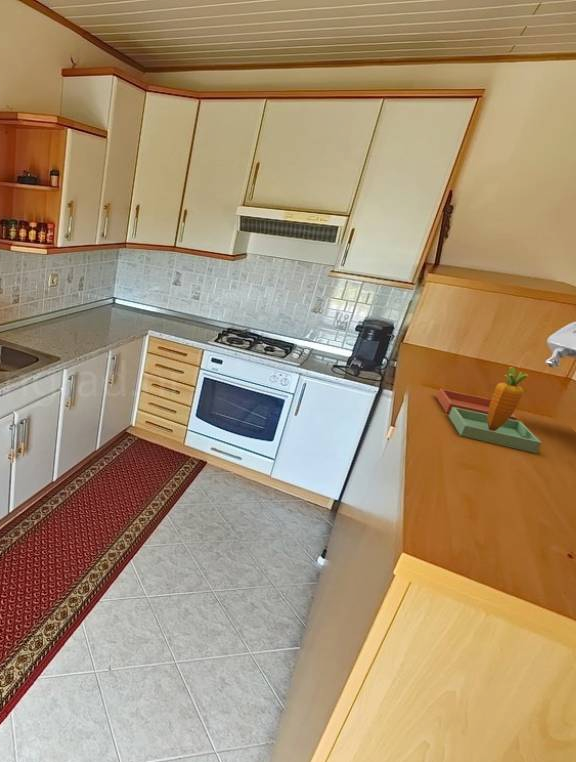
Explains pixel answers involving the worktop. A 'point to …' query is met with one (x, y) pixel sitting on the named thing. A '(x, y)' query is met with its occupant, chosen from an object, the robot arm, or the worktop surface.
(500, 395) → the carrot
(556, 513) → the worktop surface
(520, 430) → the green tray
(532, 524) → the worktop surface
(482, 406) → the terracotta tray
